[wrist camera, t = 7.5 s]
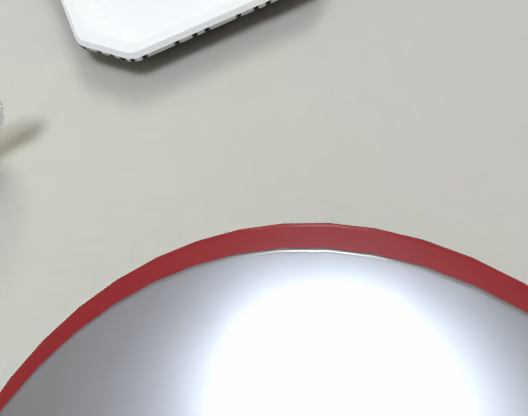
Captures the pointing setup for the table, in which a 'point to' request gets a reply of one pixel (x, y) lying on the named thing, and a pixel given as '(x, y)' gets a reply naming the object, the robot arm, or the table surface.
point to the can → (289, 333)
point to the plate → (148, 23)
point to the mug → (1, 115)
